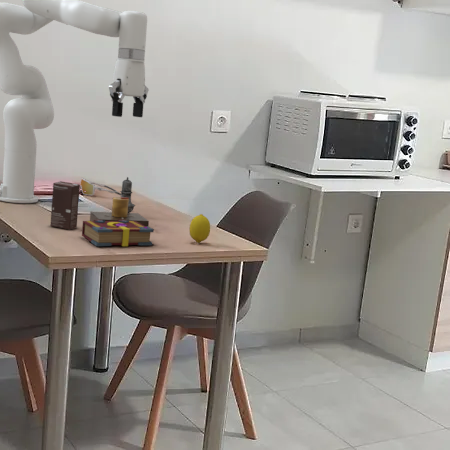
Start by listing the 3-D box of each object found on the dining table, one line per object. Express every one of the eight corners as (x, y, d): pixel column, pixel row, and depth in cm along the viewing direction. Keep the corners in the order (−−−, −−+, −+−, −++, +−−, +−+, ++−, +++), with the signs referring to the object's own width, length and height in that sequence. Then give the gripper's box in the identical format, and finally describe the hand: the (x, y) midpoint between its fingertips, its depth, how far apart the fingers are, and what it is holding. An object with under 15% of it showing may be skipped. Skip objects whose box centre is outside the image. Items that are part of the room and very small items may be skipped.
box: (49, 226, 201) (52, 182, 199) (58, 224, 205) (61, 180, 203) (69, 230, 199) (72, 185, 197) (77, 227, 203) (81, 184, 201)
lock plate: (98, 230, 203) (99, 218, 203) (89, 221, 213) (90, 210, 213) (147, 231, 209) (149, 220, 208) (137, 223, 219) (137, 212, 218)
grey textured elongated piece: (130, 218, 225) (133, 179, 222) (111, 215, 226) (115, 176, 223) (136, 215, 230) (140, 177, 228) (118, 213, 231) (121, 174, 229)
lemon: (187, 240, 203) (190, 211, 202) (207, 242, 204) (211, 213, 202) (188, 244, 198) (191, 215, 196) (209, 246, 198) (212, 217, 197)
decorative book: (80, 237, 193) (82, 218, 192) (138, 236, 201) (139, 218, 200) (96, 247, 183) (98, 227, 182) (156, 246, 192) (158, 227, 191)
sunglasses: (74, 189, 267) (77, 175, 266) (114, 196, 274) (117, 183, 273) (84, 196, 254) (87, 181, 254) (125, 203, 261) (129, 189, 260)
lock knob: (113, 217, 208) (115, 198, 207) (109, 214, 212) (111, 195, 211) (129, 217, 210) (130, 199, 209) (124, 214, 214) (126, 196, 213)
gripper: (138, 57, 223) (134, 115, 226) (101, 52, 208) (98, 114, 211) (159, 59, 219) (155, 118, 222) (123, 54, 204) (119, 117, 207)
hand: (127, 116), depth 216 cm, fingers open, 9 cm apart
